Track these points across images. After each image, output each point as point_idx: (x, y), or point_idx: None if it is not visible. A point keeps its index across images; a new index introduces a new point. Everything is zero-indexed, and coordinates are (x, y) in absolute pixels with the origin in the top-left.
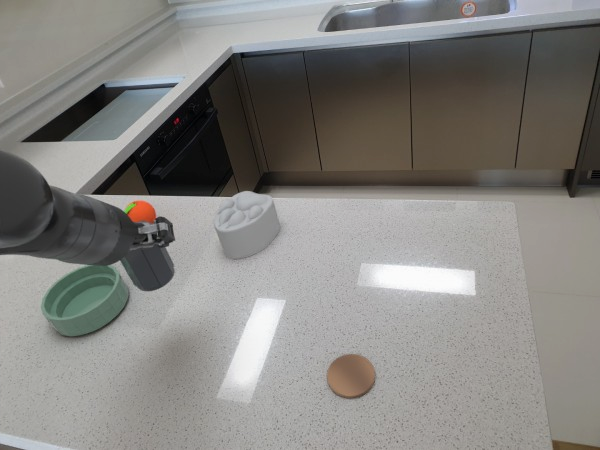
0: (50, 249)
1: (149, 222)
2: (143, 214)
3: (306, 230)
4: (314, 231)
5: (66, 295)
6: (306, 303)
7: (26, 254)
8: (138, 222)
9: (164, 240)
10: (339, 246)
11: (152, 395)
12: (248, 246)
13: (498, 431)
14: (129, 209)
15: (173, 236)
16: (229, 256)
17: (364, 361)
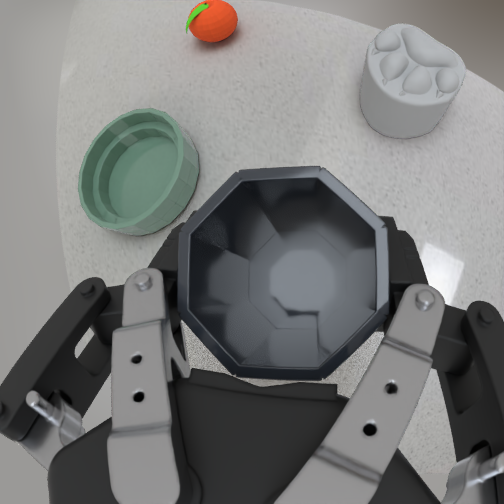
0: None
1: (358, 198)
2: (220, 20)
3: (483, 123)
4: (493, 131)
5: (110, 156)
6: (487, 280)
7: None
8: (403, 432)
9: (448, 411)
10: None
11: (256, 385)
12: (417, 128)
13: None
14: (198, 13)
15: (478, 379)
16: (376, 128)
17: None
